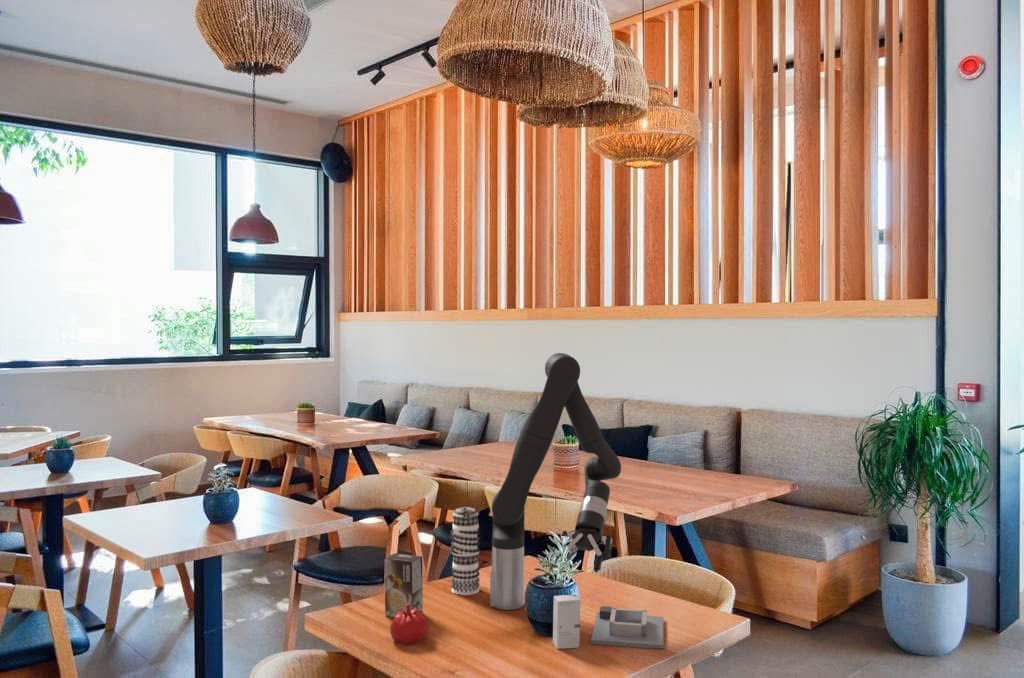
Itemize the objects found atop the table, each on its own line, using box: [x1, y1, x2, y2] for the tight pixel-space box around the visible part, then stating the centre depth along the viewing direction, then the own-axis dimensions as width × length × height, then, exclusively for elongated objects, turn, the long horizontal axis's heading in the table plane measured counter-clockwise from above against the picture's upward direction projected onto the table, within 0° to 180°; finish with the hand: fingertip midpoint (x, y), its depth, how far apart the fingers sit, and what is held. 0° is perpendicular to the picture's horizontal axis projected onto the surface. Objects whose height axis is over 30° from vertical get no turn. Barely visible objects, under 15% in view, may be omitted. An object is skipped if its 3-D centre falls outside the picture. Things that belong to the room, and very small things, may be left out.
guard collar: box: [609, 607, 648, 637], centre depth 214 cm, size 9×11×3 cm
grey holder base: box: [590, 605, 664, 649], centre depth 214 cm, size 18×20×3 cm
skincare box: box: [552, 594, 581, 650], centre depth 205 cm, size 6×4×12 cm
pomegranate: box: [389, 604, 430, 646], centre depth 209 cm, size 10×10×9 cm
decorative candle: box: [450, 506, 481, 596], centre depth 247 cm, size 9×9×25 cm
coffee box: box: [384, 552, 424, 618], centre depth 227 cm, size 9×6×16 cm
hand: (579, 569), depth 216 cm, fingers open, 8 cm apart
